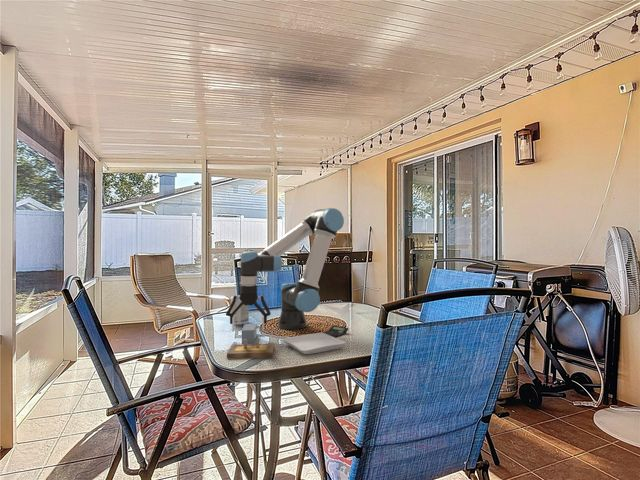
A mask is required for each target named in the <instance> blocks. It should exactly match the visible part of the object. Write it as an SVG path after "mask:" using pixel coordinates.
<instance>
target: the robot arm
mask: <svg viewBox="0 0 640 480" xmlns="http://www.w3.org/2000/svg"><path fill="white" fill-rule="evenodd" d="M344 218H345V217H344V216H343V213H342V212H341V211H340V210H339V209H337V208H332V207H328V208H324V209H321V208H320V209H317V210H314V211H313V212H311V213H310V214H309V215H308V216H306V217H304V219H303V218H302V220H301V221H300V222H299V224H298V225H297V226H296V227H294V228H293V229H291V230H289V231H288V232H287V233H286V234H284V235H283V236H281V237H280V238H279V239H277V240H276V241H274V242H273V243H272V244H271V245H269V246H267V247H266V248H264V249H263V250H262V251H260V252H259V253H258V252H257V251H243V252H241V256H240V293H239V295H240V296H238V295H236V294H235V295H233V296H234V297H233V301H232V303H231V302H230V305H229V307H228V309H227V312H226V313H225V315H226V316H227V317H229V324H230V325H232V326H231V327H232V328H231V332H235V330H236V326H235V316H233V315H234V314H235V313H236V312H237V311H238V309H239V308H240V307H241V306H242V305H243V304H244V305H248V306H254V307H255V308H256V309H257V310H258V311H259V312H260V313H261V315H262V317H261V320H262V321H261V326H262V327H261V331H262V332H264V331H265V325H266V324H267V322H268V317H269V316H271V310H270V309H269V307H268V305H267V303H266V301H265V295H264V294H261V295H258V285H257V284H258V273H260V272H263V273H264V272H280V271H281V270H282V267H283V259H282V257H281V256H282V255H284V254H285V253H287V252H288V251H290V249H292V248H294V246H296V245H298V244H299V243H301V241H303V240H304V239H306V238H308V236H313V235H315V236H314V237H313V238H314V239H313V242H312V245H311V248H310V251H309V254H308V256H307V257H308V258H307V261H306V262H305V263H306V264H305V266H304V270H303V273H302V277H301V278H300V279H299V280H297V282H290V283H283V284H281V287H280V293H281V294H280V296H281V297H280V299H281V300H280V302H281V303H280V304H281V305H280V306H281V307H280V308H281V309H280V311H281V312H280V315H279V319H278V322H277V323H278V324H277V325H278V328H280V329H283V330H300V329H299V328H301V329H304V328H306V327H307V325H308V322H307V319H306V318H307V317H306V316H305V313H311V312H313V311H314V310H316V309H317V308H318V306H319V305H320V301H321V297H320V294H319V292H320V286H319V281H320V278H321V274H322V271H323V269H324V265H325V263H326V262H325V261H326V258H327V255H328V252H329V249H330V246H331V243H332V239H335V238H336V237H337V233H338V231H340V230H341V229H342V228H343V227H344V223H345V219H344ZM238 299H240V300H241V301H242V302H241V303H240V304H239V305H238V307H237V308H236V309H235V310H234V311H233V312H232V313H231V310H232V308H233V306H234V304H235V302H236V300H238ZM258 299H259V300H258ZM257 300H258V301H261V303H262V305H263V308H264V309H263V308H262V307H261V305H260V304H259V303H258V302H257Z"/></svg>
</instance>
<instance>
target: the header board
mask: <svg viewBox="0 0 640 480" xmlns="http://www.w3.org/2000/svg"><path fill="white" fill-rule="evenodd" d="M274 352H275V343H260V338H256V340H255V343H252V344H247V339H244V340H243V344H242V343H241V344H231V345H230V347H229V349H228V351H227V353H226V359H227V358H234V359H260V358H274Z"/></svg>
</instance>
